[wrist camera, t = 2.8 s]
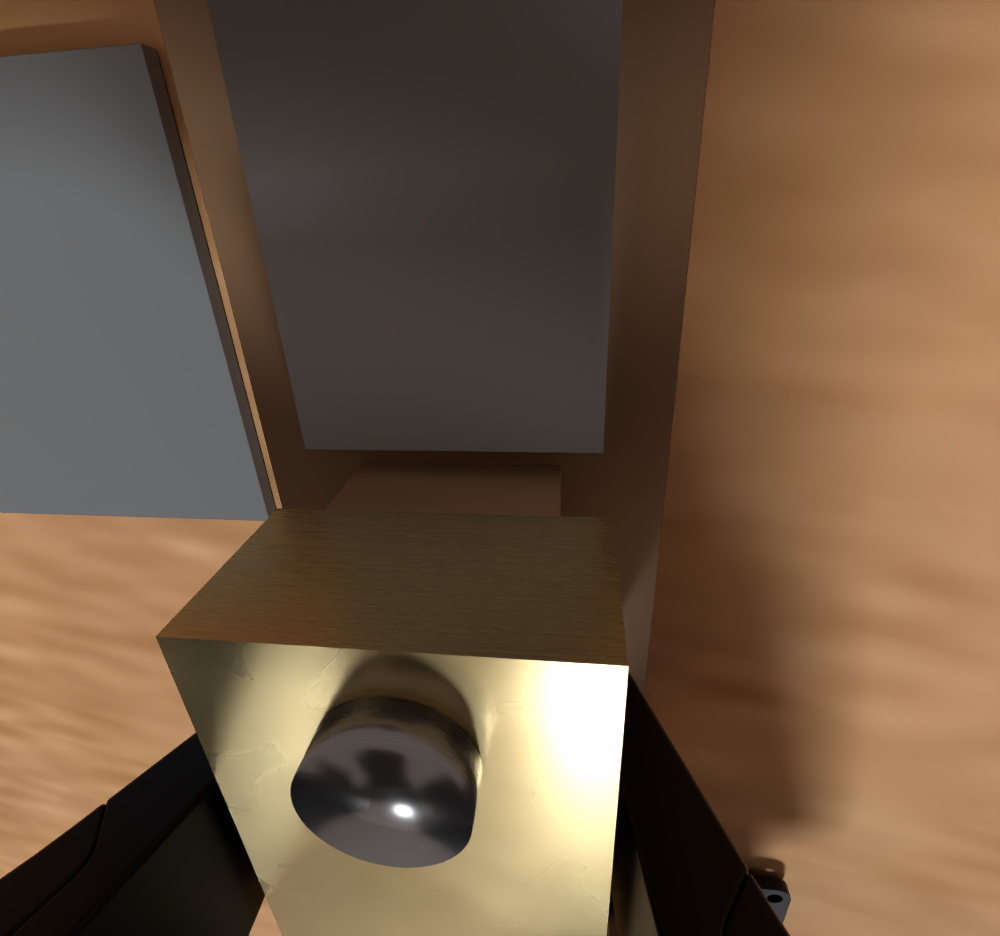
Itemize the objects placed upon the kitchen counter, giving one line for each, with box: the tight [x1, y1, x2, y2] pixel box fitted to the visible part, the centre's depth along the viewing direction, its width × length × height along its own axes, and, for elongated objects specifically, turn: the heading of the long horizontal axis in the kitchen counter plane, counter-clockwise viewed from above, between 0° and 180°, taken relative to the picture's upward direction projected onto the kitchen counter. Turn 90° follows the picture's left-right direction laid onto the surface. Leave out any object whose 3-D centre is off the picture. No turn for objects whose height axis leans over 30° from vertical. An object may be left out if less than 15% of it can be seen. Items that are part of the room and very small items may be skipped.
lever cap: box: [156, 508, 629, 936], centre depth 8 cm, size 7×5×3 cm, turn 3°
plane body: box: [154, 0, 715, 696], centre depth 9 cm, size 22×6×6 cm, turn 3°
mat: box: [0, 44, 276, 521], centre depth 13 cm, size 10×8×1 cm
